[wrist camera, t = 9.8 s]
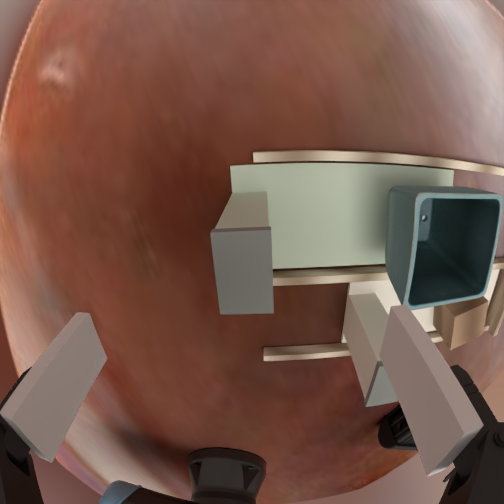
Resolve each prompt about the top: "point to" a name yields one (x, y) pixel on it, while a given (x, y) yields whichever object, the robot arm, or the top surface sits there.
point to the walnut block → (460, 321)
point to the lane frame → (499, 307)
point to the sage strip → (303, 223)
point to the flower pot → (441, 243)
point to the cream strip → (378, 333)
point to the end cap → (396, 432)
